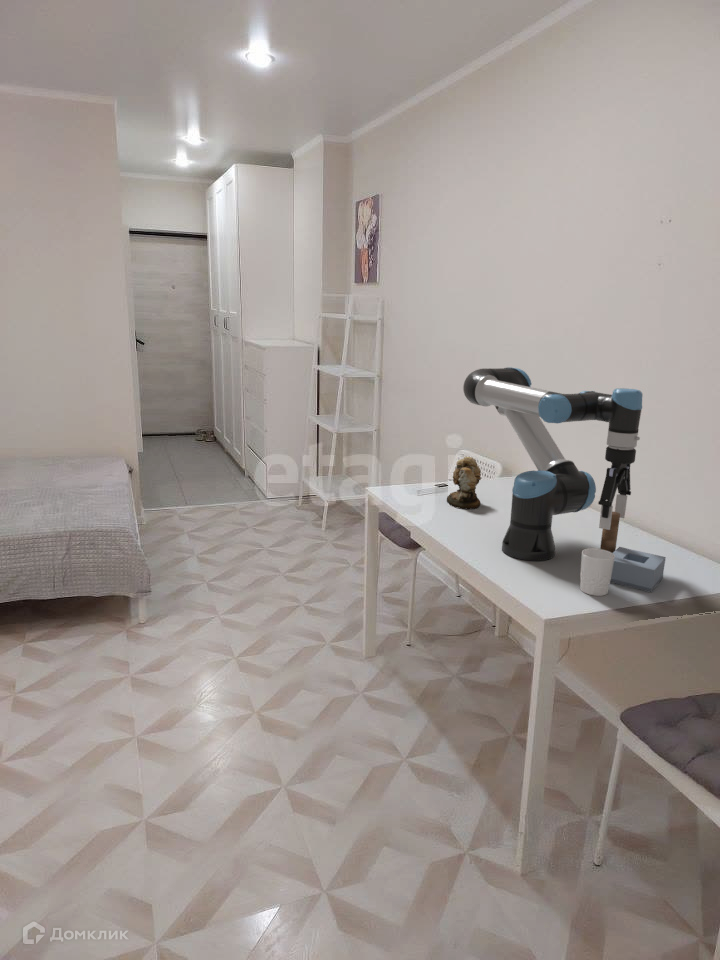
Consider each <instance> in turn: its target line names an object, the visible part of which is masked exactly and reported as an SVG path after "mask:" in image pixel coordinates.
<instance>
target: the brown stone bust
mask: <svg viewBox="0 0 720 960" xmlns="http://www.w3.org/2000/svg"><path fill="white" fill-rule="evenodd" d="M455 467H456V468H454V469H455V470H454V471H453V472H452V473H453V474H452V482H453V485H456V486H458V489H456V491H453V492H450V494H448V495H447V496H446V502H447V504H448V503H449V505H450V506H451V505H452V506H451V507H453V506H454V507H453V508H456V507H458V508H459V509H460V508H462V509H461V510H475V509H479V508H480V506H481V500H480V499H479V498H478V496H477V493H476V489H477V485H478V484H479V483H480V481H481V479H482V478H481V476H482V475H481V467H480V466H478V463H477V460H476V459H475V458H473V457H472V456H464V457H463V458H462V459H459V460H457V461H456V466H455ZM458 508H457V509H458Z"/></svg>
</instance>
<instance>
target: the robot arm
mask: <svg viewBox="0 0 720 960" xmlns="http://www.w3.org/2000/svg"><path fill="white" fill-rule="evenodd" d="M462 389H463V393H464V396H465V398H466V400H467V401H469V402H470V403H471V404H473V405H477V406H482V407H490V406H494V407H495V409H496V410H497V412H498V414H499V415H500V416H505V417H506V419H507V420H508V421H509V423H510V425H511V427H512V428H513V430H514V432H515V433H516V435H517V437H518V439H519V441H520V442H521V444H522V446H523V447H524V449H525V450H526V452H527V454H528V456H529V457H530V459H531V461H532V462H533V464H534V466H535V468H536V469H537V470H527V471H524V472H521V473H519V474H517V475H516V477H515V478H514V481H513V486H512V492H511V493H512V496H511V510H510V520H509V521H510V522H509V526H508V528H507V530H506V533H505V535H504V537H503V540H502V543H501V551H502V552H503V553H504V554H505V555H507V556H509V557H512V558H514V559H519V560H524V561H533V562H534V561H535V562H538V561H547V560H551V559H552V558H554V557H555V556H556V555H555V554H556V544H555V540H554V536H553V531H552V524H553V516H556V515H562V514H563V515H565V514H569V513H578V512H580V511H584V510H586V509H588V508H590V507H591V505H592V504H593V503H594V501H595V498H596V492H597V487H596V482H595V480H594V478H593V475H591V474H590V473H589V472H587V471H583V470H579V469H578V467H577V466H576V465H575V462H574V461H572V460H569V459H566V458H565V456H564V454H563V453H562V452H561V451H562V450H560V448H559V447H558V444H557V443H556V441H555V440H554V439H553V436H552V435H551V434H550V432H549V430H548V429H547V427H546V426H545V424H544V422H546V423H547V424H562V423H570V422H571V423H572V422H584V421H585V422H586V421H599V422H606V423H608V428H607V429H608V431H607V438H606V445H607V446H606V447H605V457H604V459H605V460H606V461H607V462H610V463H611V466H610V467H607V468H606V473H605V479H604V483H603V488H602V491H601V494H600V498H599V500H598V502H597V504H598V505H600V506H601V508H600V515H599V516H600V517H599V527H598V528H599V529H602V530H603V529H607V530H610V526H611V518H612V512H613V508H614V512H617V513H619V514H620V518H621V519H626V510H627V503H628V496H631V494H632V491H631V464H634V463H635V461H636V454H637V453H636V452H637V450H636V447H637V444H638V441H640V438H641V437H640V436H638V435H639V431H640V430H639V426H640V420H641V415H642V409H643V392H642V391H641V390H640V389H635V388H625V387H623V388H615V389H614V390H613V391H612V394H609V393H603V392H597V391H594V390H591V391H590V390H582V391H580V392H578V393H560V392H555V391H551V390H547V389H542V388H536V387H532V381H531V378H530V376H529V374H527V372H526V371H524V369H521V368H517V367H512V366H511V367H508V366H507V367H504V368H478V369H475V370H473V371H471V372H470V373H469V374H468V375H467V377H466V378H465V380H464V382H463V387H462ZM542 420H543V421H542ZM616 493H617V494H616ZM615 496H616V499H615ZM614 499H615V506H613V502H614Z"/></svg>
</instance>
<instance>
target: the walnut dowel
mask: <svg viewBox="0 0 720 960" xmlns="http://www.w3.org/2000/svg"><path fill="white" fill-rule="evenodd" d="M619 525H620V514H619V513H617V512H615V511H612V518H611V526H610V530H607V529H602V531H601V538H600V539H601V540H600V547H599V549H602V550H606V551H609V552H611V553H613V552H614V551H615V550H616V549H617V541H618V534H619V533H618V532H619Z"/></svg>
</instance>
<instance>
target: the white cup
mask: <svg viewBox="0 0 720 960" xmlns="http://www.w3.org/2000/svg"><path fill="white" fill-rule="evenodd" d="M580 558H581V559H580V572H579V573H580V576H579V577H580V578H579V579H580V585H579V589H580V591H581V592H582V593H585V594H587V595H590V596H597V597H603V596H606V595H608V593H609V588H610V587H609V586H610V584H611V582H610V580H611V575H612V571H613V565H614V559H615V555H614V554H613V553H611V552H609V551H606V550H602V549H600V548H592V547H591V548H585V549H582V550H581V557H580Z"/></svg>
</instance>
